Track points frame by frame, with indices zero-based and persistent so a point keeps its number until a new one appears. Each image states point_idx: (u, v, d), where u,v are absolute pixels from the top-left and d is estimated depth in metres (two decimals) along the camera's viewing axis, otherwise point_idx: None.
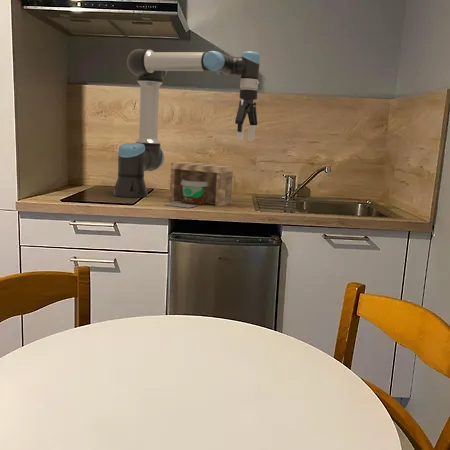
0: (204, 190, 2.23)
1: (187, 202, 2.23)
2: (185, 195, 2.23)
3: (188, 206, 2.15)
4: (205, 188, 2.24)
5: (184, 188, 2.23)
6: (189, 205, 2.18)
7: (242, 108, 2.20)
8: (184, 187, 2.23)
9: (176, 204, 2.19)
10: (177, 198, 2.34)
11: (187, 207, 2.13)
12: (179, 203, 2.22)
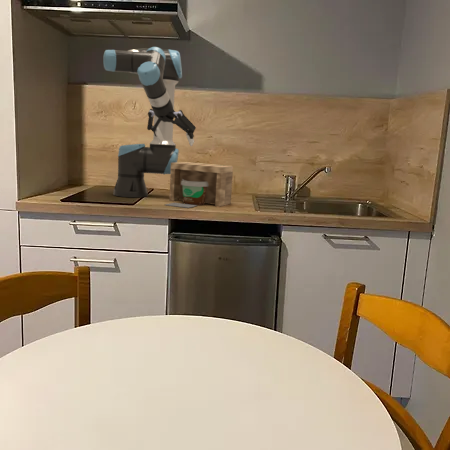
0: (204, 190, 2.23)
1: (187, 202, 2.23)
2: (185, 195, 2.23)
3: (188, 206, 2.15)
4: (205, 188, 2.24)
5: (184, 188, 2.23)
6: (189, 205, 2.18)
7: None
8: (184, 187, 2.23)
9: (176, 204, 2.19)
10: (177, 198, 2.34)
11: (187, 207, 2.13)
12: (179, 203, 2.22)
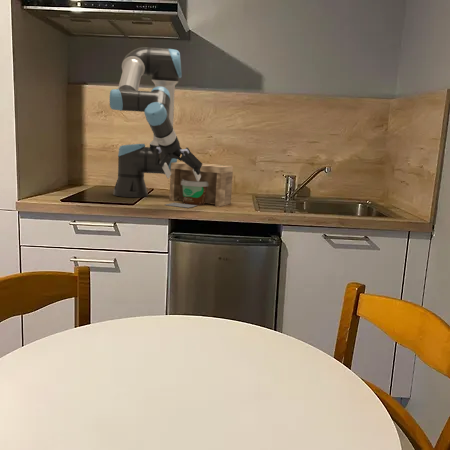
0: (204, 190, 2.23)
1: (187, 202, 2.23)
2: (185, 195, 2.23)
3: (188, 206, 2.15)
4: (205, 188, 2.24)
5: (184, 188, 2.23)
6: (189, 205, 2.18)
7: (156, 154, 2.07)
8: (184, 187, 2.23)
9: (176, 204, 2.19)
10: (177, 198, 2.34)
11: (187, 207, 2.13)
12: (179, 203, 2.22)
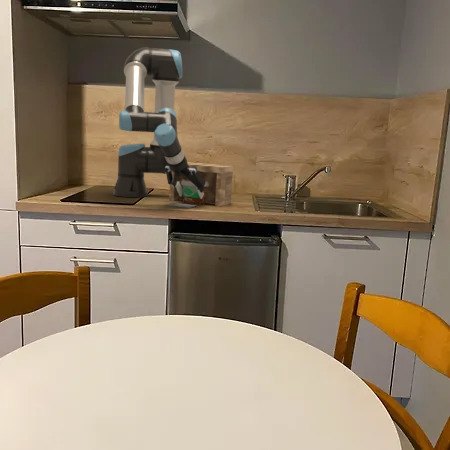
0: (204, 189, 2.23)
1: (187, 202, 2.23)
2: (185, 195, 2.23)
3: (188, 206, 2.15)
4: (205, 188, 2.24)
5: (184, 188, 2.23)
6: (189, 205, 2.18)
7: None
8: (184, 187, 2.23)
9: (176, 204, 2.19)
10: (177, 198, 2.34)
11: (187, 207, 2.13)
12: (179, 203, 2.22)
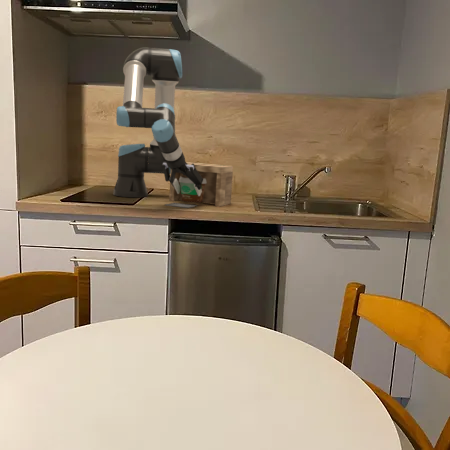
0: (202, 187, 2.21)
1: (185, 199, 2.21)
2: (183, 192, 2.21)
3: (188, 206, 2.15)
4: (203, 185, 2.21)
5: (182, 185, 2.21)
6: (189, 205, 2.18)
7: None
8: (182, 184, 2.21)
9: (176, 204, 2.19)
10: (177, 198, 2.34)
11: (187, 207, 2.13)
12: (179, 203, 2.22)
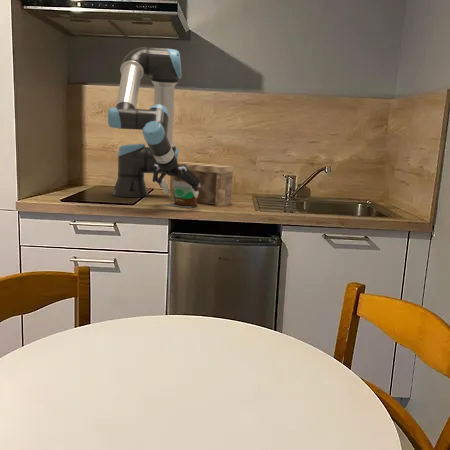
0: None
1: (178, 203, 2.16)
2: (176, 196, 2.16)
3: (188, 206, 2.15)
4: None
5: (175, 189, 2.16)
6: None
7: (154, 171, 2.08)
8: (175, 188, 2.16)
9: None
10: None
11: (187, 207, 2.13)
12: None
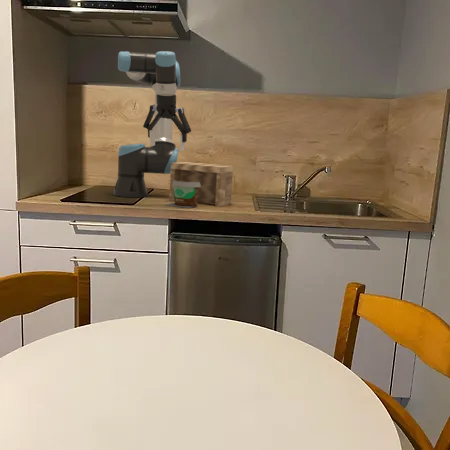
0: (196, 190, 2.16)
1: (178, 203, 2.16)
2: (176, 196, 2.16)
3: (188, 206, 2.15)
4: (197, 189, 2.16)
5: (175, 189, 2.16)
6: None
7: None
8: (175, 188, 2.16)
9: None
10: None
11: (187, 207, 2.13)
12: None
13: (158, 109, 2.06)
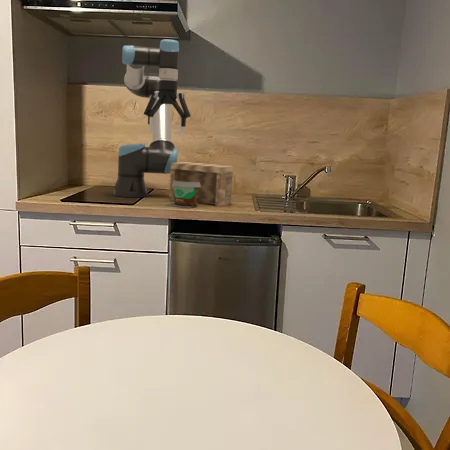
0: (196, 190, 2.16)
1: (178, 203, 2.16)
2: (176, 196, 2.16)
3: (188, 206, 2.15)
4: (197, 189, 2.16)
5: (175, 189, 2.16)
6: None
7: None
8: (175, 188, 2.16)
9: None
10: None
11: (187, 207, 2.13)
12: None
13: (159, 95, 2.13)
